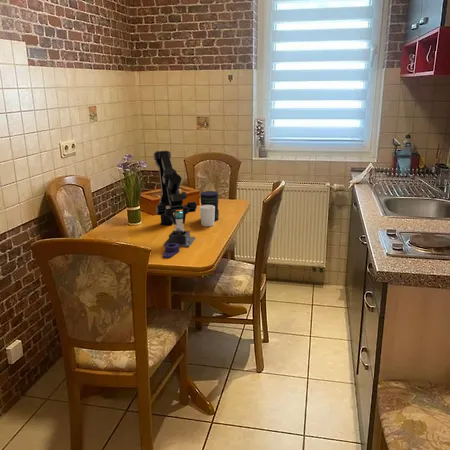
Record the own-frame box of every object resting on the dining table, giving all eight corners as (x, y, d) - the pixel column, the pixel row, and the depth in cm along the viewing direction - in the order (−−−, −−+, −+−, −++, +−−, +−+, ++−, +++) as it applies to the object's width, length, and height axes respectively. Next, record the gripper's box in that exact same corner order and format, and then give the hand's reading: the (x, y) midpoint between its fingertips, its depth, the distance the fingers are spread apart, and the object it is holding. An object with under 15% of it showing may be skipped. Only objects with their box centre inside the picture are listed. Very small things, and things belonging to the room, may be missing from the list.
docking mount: (163, 245, 213) (163, 236, 211) (171, 237, 224) (170, 228, 223) (188, 247, 210) (188, 237, 209) (195, 238, 222) (194, 229, 220)
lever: (167, 249, 209) (167, 242, 208) (181, 250, 208) (180, 243, 207) (159, 258, 198) (158, 251, 197) (173, 259, 197) (172, 252, 196)
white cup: (217, 223, 247) (216, 205, 244) (212, 227, 240) (212, 208, 237) (203, 222, 249) (202, 204, 246) (198, 226, 242) (197, 207, 239)
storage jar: (219, 217, 258) (219, 191, 254) (217, 222, 249) (217, 195, 244) (202, 216, 259) (201, 191, 255) (199, 221, 250) (198, 195, 245)
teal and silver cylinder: (173, 236, 216) (172, 212, 212) (178, 234, 219) (177, 210, 216) (180, 238, 214) (179, 213, 210) (185, 235, 217) (184, 211, 214)
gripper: (155, 187, 211) (161, 217, 204) (195, 184, 216) (201, 213, 209) (154, 200, 220) (159, 229, 213) (192, 197, 225) (198, 225, 219)
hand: (179, 223), depth 213 cm, fingers closed on teal and silver cylinder, 4 cm apart
